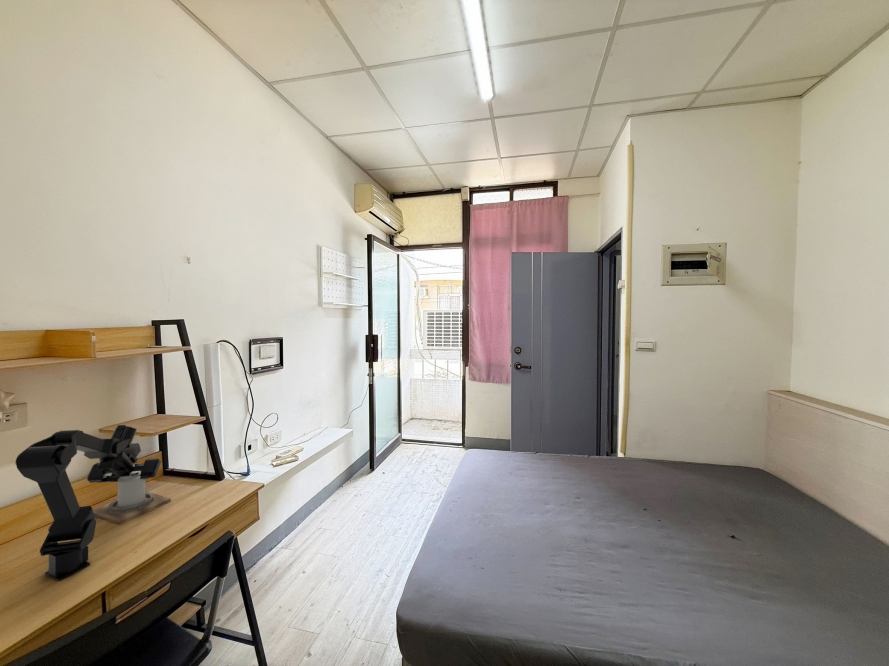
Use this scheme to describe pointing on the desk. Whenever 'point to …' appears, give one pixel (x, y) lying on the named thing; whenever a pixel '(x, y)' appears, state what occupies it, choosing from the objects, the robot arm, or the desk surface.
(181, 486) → the desk surface
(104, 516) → the collar board
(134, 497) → the can
